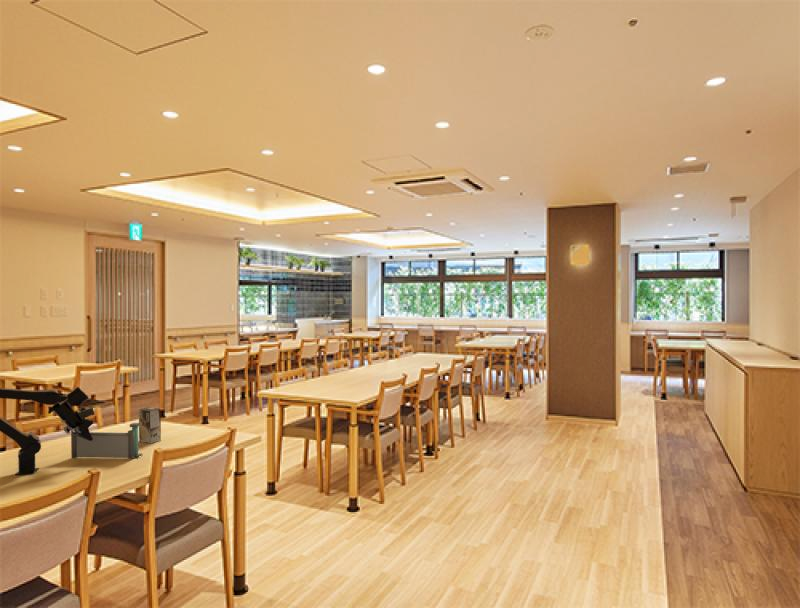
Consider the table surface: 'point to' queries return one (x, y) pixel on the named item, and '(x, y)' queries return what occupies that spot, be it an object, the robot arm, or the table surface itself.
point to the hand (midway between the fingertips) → (91, 440)
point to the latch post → (136, 438)
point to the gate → (104, 445)
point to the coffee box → (150, 425)
